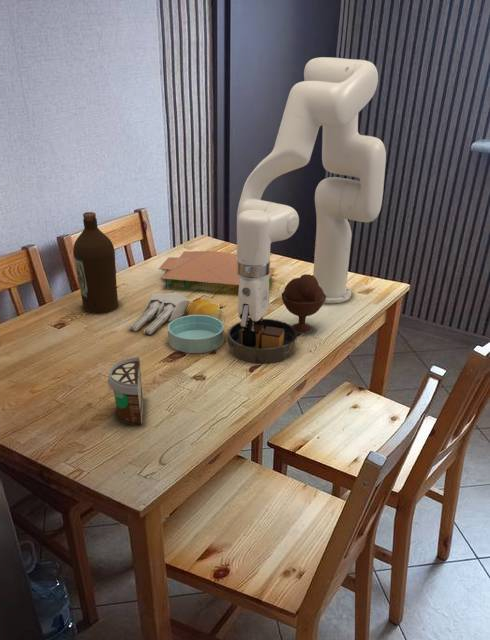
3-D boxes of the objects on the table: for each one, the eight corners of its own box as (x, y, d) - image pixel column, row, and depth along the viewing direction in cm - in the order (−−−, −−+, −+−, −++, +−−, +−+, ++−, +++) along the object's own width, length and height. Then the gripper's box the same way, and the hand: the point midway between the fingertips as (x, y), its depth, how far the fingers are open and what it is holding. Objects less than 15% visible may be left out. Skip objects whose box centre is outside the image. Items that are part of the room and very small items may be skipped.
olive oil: (115, 296, 189) (104, 205, 174) (124, 310, 181) (115, 217, 166) (77, 302, 185) (63, 210, 171) (85, 317, 177) (72, 222, 163)
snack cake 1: (246, 340, 165) (246, 322, 162) (263, 343, 164) (263, 325, 161) (240, 347, 162) (241, 329, 159) (258, 350, 161) (258, 332, 158)
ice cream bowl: (328, 325, 174) (333, 269, 165) (313, 342, 165) (318, 284, 157) (290, 317, 177) (292, 262, 168) (274, 334, 169) (276, 277, 160)
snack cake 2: (266, 344, 164) (266, 326, 161) (283, 346, 163) (284, 328, 160) (261, 351, 161) (261, 332, 158) (278, 354, 160) (279, 335, 157)
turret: (124, 336, 173) (121, 321, 169) (165, 298, 185) (162, 283, 182) (157, 345, 169) (154, 329, 166) (196, 305, 181) (194, 289, 178)
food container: (114, 398, 144) (109, 356, 138) (143, 397, 144) (139, 355, 138) (110, 430, 134) (104, 387, 128) (141, 428, 134) (136, 385, 129)
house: (176, 261, 212) (175, 235, 207) (279, 269, 206) (280, 243, 201) (153, 288, 194) (151, 260, 189) (265, 298, 188) (266, 270, 183)
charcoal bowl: (241, 330, 171) (241, 314, 169) (304, 339, 167) (305, 324, 164) (218, 358, 159) (217, 342, 156) (285, 370, 154) (286, 354, 152)
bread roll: (203, 325, 173) (203, 311, 171) (182, 314, 179) (182, 300, 176) (228, 317, 178) (227, 303, 175) (207, 306, 183) (206, 292, 181)
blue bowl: (182, 326, 173) (181, 311, 170) (232, 334, 169) (232, 319, 167) (159, 349, 162) (158, 334, 160) (212, 359, 158) (211, 343, 156)
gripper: (257, 283, 144) (256, 358, 155) (279, 257, 157) (277, 329, 168) (224, 279, 146) (225, 353, 157) (249, 254, 159) (248, 324, 170)
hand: (252, 340), depth 162 cm, fingers closed on snack cake 1, 4 cm apart
